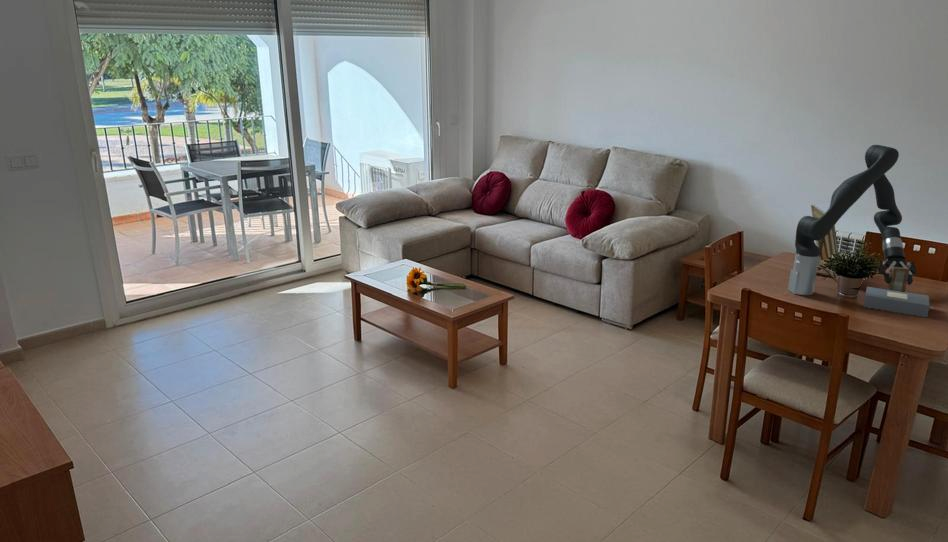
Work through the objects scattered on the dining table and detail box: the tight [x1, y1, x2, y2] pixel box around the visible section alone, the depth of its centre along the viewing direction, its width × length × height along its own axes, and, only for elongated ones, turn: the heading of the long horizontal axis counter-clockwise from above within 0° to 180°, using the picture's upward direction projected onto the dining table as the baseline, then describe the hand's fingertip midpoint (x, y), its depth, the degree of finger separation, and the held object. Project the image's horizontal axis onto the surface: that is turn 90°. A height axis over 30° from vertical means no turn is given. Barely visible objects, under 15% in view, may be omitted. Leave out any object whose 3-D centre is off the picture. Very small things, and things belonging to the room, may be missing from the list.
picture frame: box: [810, 204, 839, 282], centre depth 317 cm, size 33×10×30 cm, turn 168°
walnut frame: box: [887, 267, 910, 292], centre depth 288 cm, size 6×6×13 cm
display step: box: [863, 286, 931, 318], centre depth 277 cm, size 22×14×5 cm, turn 59°
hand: (899, 283), depth 287 cm, fingers open, 8 cm apart
